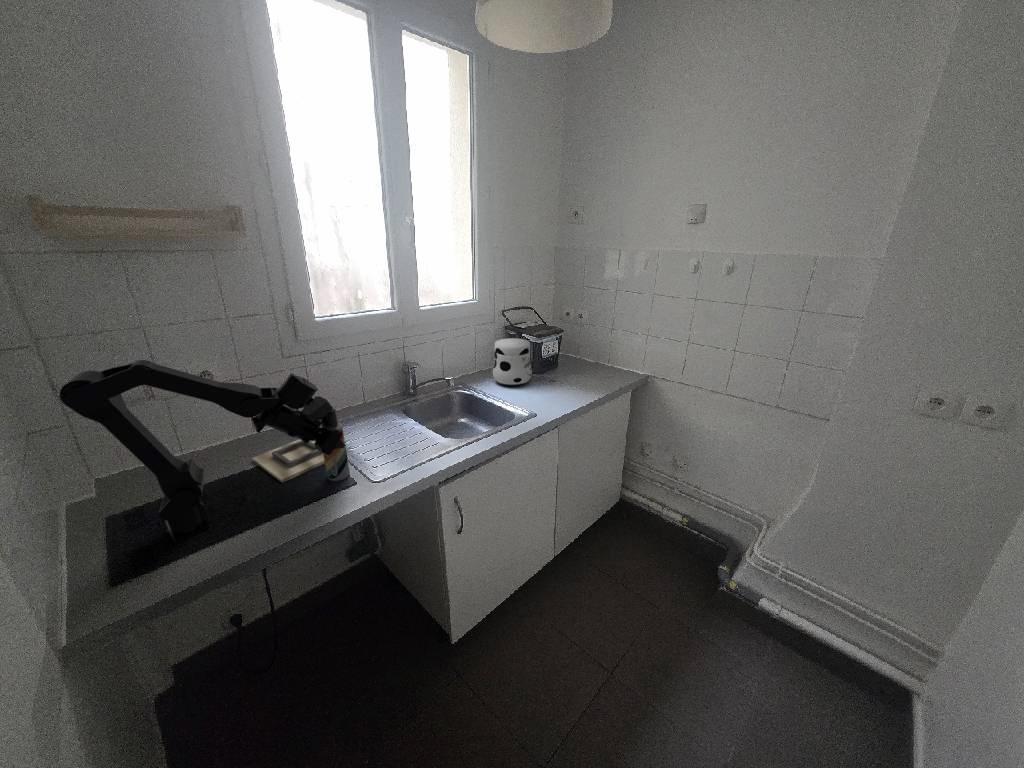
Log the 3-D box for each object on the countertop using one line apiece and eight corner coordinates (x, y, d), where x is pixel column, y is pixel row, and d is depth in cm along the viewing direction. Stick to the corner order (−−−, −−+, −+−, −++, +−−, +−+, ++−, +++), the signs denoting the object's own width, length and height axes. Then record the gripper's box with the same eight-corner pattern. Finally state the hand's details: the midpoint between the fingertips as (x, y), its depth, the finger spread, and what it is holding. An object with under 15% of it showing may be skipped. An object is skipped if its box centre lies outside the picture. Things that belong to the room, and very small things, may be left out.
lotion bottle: (326, 483, 106) (313, 415, 99) (329, 471, 111) (317, 406, 104) (349, 479, 108) (338, 413, 100) (351, 468, 113) (340, 404, 105)
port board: (282, 482, 106) (280, 475, 105) (252, 461, 116) (250, 453, 115) (343, 454, 120) (342, 447, 119) (312, 437, 130) (311, 430, 129)
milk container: (539, 384, 175) (540, 344, 168) (504, 391, 166) (504, 350, 160) (518, 372, 188) (519, 335, 182) (486, 379, 180) (485, 340, 174)
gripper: (328, 400, 92) (374, 425, 104) (288, 383, 102) (335, 407, 114) (301, 444, 89) (352, 464, 101) (262, 421, 99) (313, 442, 111)
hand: (338, 442), depth 107 cm, fingers closed on lotion bottle, 5 cm apart
